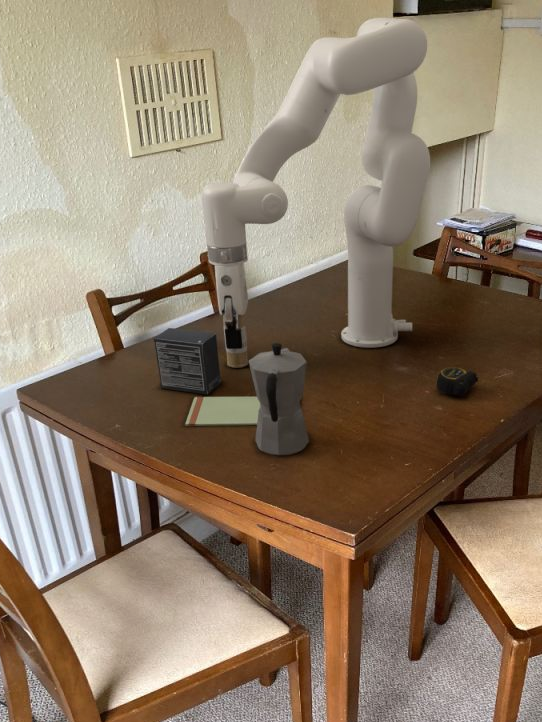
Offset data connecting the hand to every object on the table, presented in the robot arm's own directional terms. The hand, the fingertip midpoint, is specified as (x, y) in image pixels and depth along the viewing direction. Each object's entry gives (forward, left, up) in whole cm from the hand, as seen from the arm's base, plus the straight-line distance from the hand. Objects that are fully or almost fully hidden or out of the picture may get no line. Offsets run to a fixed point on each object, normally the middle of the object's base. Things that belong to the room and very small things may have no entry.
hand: (235, 342), depth 157 cm
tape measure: (-44, +14, -5) cm, 46 cm away
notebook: (-3, +22, -5) cm, 22 cm away
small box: (+8, +10, -5) cm, 14 cm away
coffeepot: (-11, +35, -5) cm, 37 cm away
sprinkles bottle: (0, 0, -5) cm, 5 cm away
